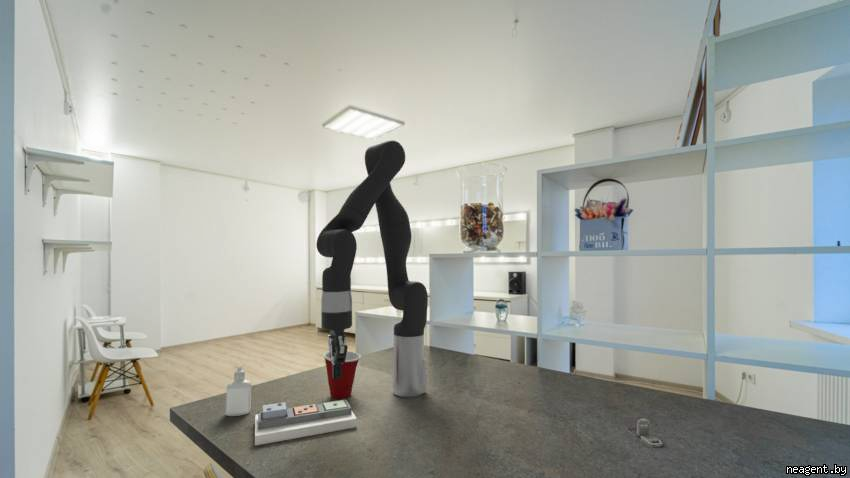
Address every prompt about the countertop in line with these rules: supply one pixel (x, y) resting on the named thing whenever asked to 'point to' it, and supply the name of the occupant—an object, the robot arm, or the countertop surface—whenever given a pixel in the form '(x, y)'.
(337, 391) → the plastic cup
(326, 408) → the key one
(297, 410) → the key three
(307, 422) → the keypad
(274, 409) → the key two
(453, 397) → the countertop surface
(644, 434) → the strap clip
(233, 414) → the eye dropper bottle
